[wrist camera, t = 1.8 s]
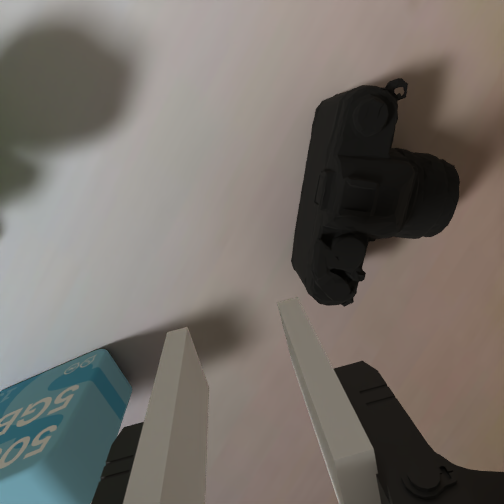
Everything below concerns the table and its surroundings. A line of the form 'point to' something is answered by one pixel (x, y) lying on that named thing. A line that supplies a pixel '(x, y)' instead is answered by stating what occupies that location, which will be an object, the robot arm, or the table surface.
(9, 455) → the data package
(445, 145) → the table surface
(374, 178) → the film camera
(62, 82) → the table surface
